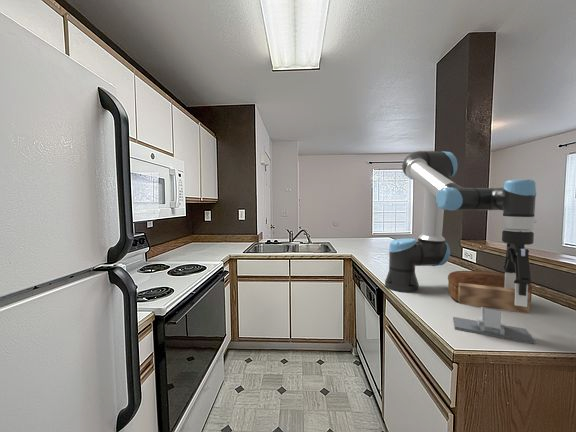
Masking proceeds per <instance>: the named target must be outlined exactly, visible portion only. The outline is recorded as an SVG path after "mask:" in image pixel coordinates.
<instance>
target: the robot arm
mask: <svg viewBox="0 0 576 432" xmlns="http://www.w3.org/2000/svg"><path fill="white" fill-rule="evenodd" d="M457 160H458V159H457V157H456V156H455V154H454V153H452V152H451V151H443V150H440V151H439V150H436V151H435V150H434V151H432V150H431V151H425V150H424V151H423V150H418V151H413V152H411V153H410V154H408V155H407V156H406V157H405V158H404V159H403V162H402V165H401V166H402V168H401V169H402V172H403V174H404V175H405V176H406V178H408V179H410V180H414V181H415V182H417V183H419V185H421V186H422V187H423V188H424V198H423V211H422V226H421V228H422V229H421V234H420V235H419V236H418V237H417V240H416V239H415V238H410V237H409V238H396V239H393V240H391V241H390V243H389V249H388V253H389V254H388V255H389V256H388V257H389V258H388V259H389V260H388V261H389V262H388V265H389V267H388V272H387V274H386V278H385V280H384V287H386V288H387V289H389V290H393V291H397V292H402V293H403V292H405V293H412V292H413V293H414V292H418V291H419V289H420V288H419V287H420V285H419V284H420V283H419V280H418V278H417V274H416V267H421V266H422V267H425V266H427V267H428V266H429V267H436V266H437V267H438V266H443V265H445V264H447V262H448V261H449V260H450V256H451V248H450V245H449V243H448V242H446V238H445V237H444V236H443V227H444V226H443V225H444V214H445V213H444V212H445V210H446V211H451V212H452V211H502V219H501V220H502V223H501V225H502V226H501V227H502V229H503V231H501V242H502V243H505V244H506V250H505V251H506V252H505V258H504V263H503V269H504V274H505V288H511V289H515V305H516V306H524V307H527V299H528V284H530V285H531V284H532V281H531V280H532V279H531V271H530V270H531V269H530V268H531V267H530V258H529V257H530V256H529V252H530V250H529V249H527V248H526V247H525V246H526V245H532V244H534V240H535V239H534V236H535V234H534V232H533V230H534V229H535V224H536V223H537V220H536V219H535V212H536V196H537V190H536V189H537V187H536V185H537V184H536V181H535V180H534V179H522V178H521V179H509V180H506V181H504V185H503V187H462V186H460V185H459V184H457V183H456V182H454V181H452V180H451V178H453V177H454V176H455V175H456V173H457V172H458V171H457V170H458V161H457ZM516 279H517V280H516Z"/></svg>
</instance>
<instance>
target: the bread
mask: <svg viewBox="0 0 576 432" xmlns="http://www.w3.org/2000/svg"><path fill="white" fill-rule="evenodd" d="M447 280H448V283H447V284H448V294H449V296H450V297H451V298H452V299H453V300H454V301H456V302H459V301H458V289H459V283H467V284H476V285H484V286H493V287H502V288H505V272H504V273H503V272H497V271H487V270H455V271H451V272H449V274H448V275H447ZM516 280H517V279H516ZM528 292H529V293H530V304H531V302H532V293H533V286H531V284H528Z"/></svg>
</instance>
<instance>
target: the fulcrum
mask: <svg viewBox="0 0 576 432" xmlns="http://www.w3.org/2000/svg"><path fill="white" fill-rule="evenodd" d="M476 317H477V318H476V319H469V318H464V317H463V318H462V317H458V316H457V317H456V316H452V320H453V321H452V322H453V327H454V330H457V331H458V330H459V331H463V332H469V333H473V334H479V335H485V336H491V337H496V338H501V339H507V340H513V341H518V342H525V343H529V344H535V343H536V341H535V340H534V338H533V337H532V336H531V334H530V333H529V331H528V329H526V328H524V327H518V326H511V325H506V324H502V311H501V310H500V309H493V308H486V307H480V316H476Z"/></svg>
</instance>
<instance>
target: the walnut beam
mask: <svg viewBox="0 0 576 432" xmlns="http://www.w3.org/2000/svg"><path fill="white" fill-rule="evenodd" d="M457 302H458V304H460V305H465V306H472V307H473V306H474V307H480V308H481V307H486V308H493V309H500V311H501V310H502V311H509V312H515V313H523V314H530V308H531V307H530V306H531V303H530V293H529V292H528V299H527V307H524V306H516V305H515V289H511V288H502V287H493V286H484V285H476V284H467V283H459V289H458V301H457Z"/></svg>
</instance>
